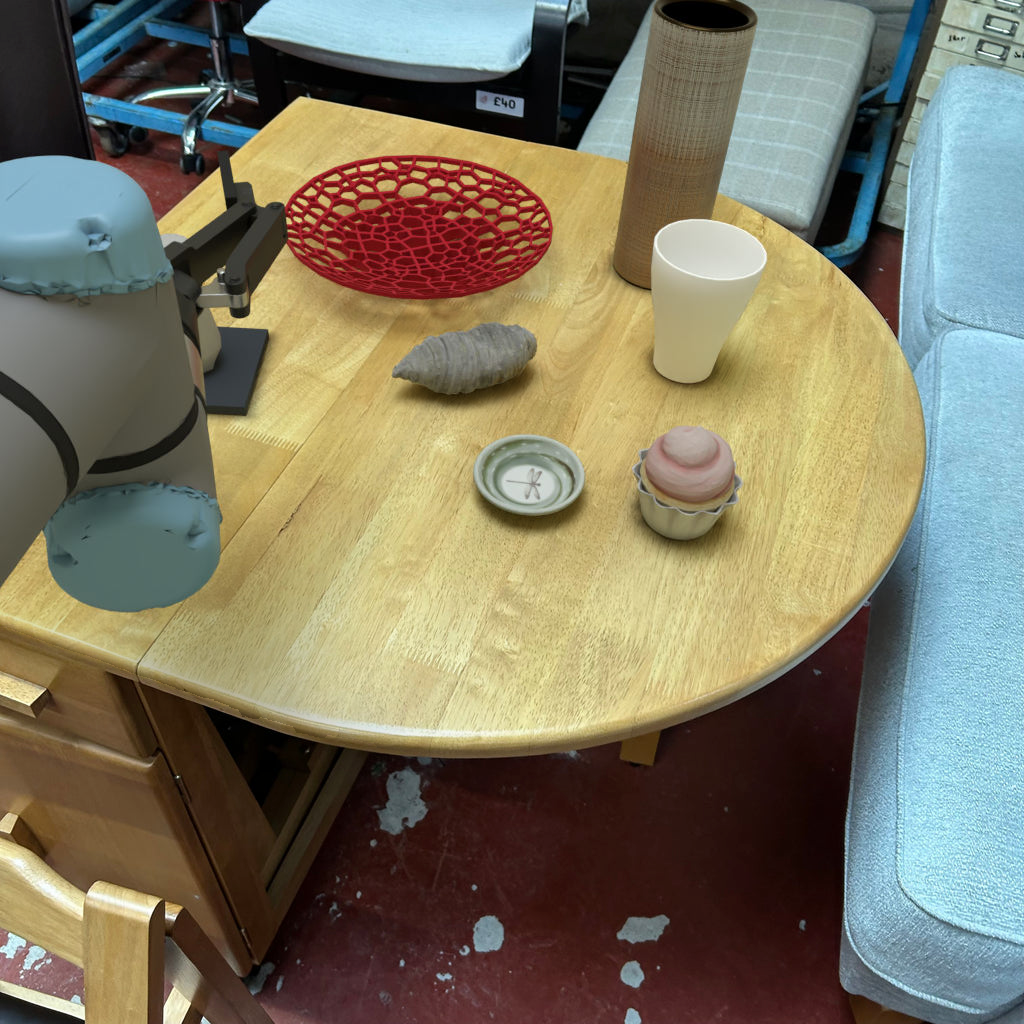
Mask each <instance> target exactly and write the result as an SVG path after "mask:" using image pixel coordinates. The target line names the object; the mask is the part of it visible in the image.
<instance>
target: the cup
mask: <svg viewBox="0 0 1024 1024" xmlns="http://www.w3.org/2000/svg"><path fill="white" fill-rule="evenodd" d="M767 263H768V253H767V250H766V249H765V247H764V244H762V242H760V241H759V240H758V238H757V237H756V236H754V235H753V234H751V233H749V232H748V231H746V230H744V229H742V228H740V227H738V226H735V225H733V224H729V223H726V222H723V221H720V220H719V221H718V220H713V219H711V220H706V219H690V220H682V221H677V222H674V223H671V224H668V225H667V226H665V227H664V228H662V229H661V230H660V231H659V232H658V233H657V235H656V236H655V238H654V246H653V255H652V265H651V289H650V290H651V305H652V312H653V313H652V314H653V325H654V326H653V327H654V328H653V329H654V346H653V347H654V348H653V360H652V363H653V367H654V369H656V371H657V372H658V373H659V374H660V375H661V376H663V377H664V378H666V379H668V380H670V381H673V382H676V383H682V384H695V383H700V382H703V381H704V380H706V379H708V377H710V376H711V374H712V372H713V369H714V367H715V364H716V361H717V359H718V358H719V354H720V352H721V350H722V348H723V347H724V345H725V343H726V342H727V340H728V338H729V336H730V335H731V333H732V331H734V328H735V327H736V325H737V323H738V322H740V319H741V318H742V317H743V314H744V312H745V311H746V309H747V307H748V305H749V303H750V301H751V299H752V297H753V296H754V293H755V292H756V290H757V288H758V286H759V284H760V281H761V278H762V276H763V275H764V274H763V273H764V271H765V269H766V266H767Z"/></svg>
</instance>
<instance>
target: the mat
mask: <svg viewBox="0 0 1024 1024" xmlns="http://www.w3.org/2000/svg"><path fill="white" fill-rule="evenodd" d="M217 327H218V330H219V332H220V336H221V349H220V351H219V353H218V356H217V358H216V360H215V363H214V367H213V369H211V370H209V371H207V372H204V373H203V377H204V387H205V396H206V408H207V414H215V415H217V414H219V415H237V416H247V413H248V411H249V408H250V407H249V406H250V404H251V400H252V397H253V393H254V391H255V390H254V389H255V386H256V383H257V379H258V377H259V373H260V370H261V367H262V363H263V359H264V355H265V352H266V348H267V347H268V344H269V343H268V342H269V340H270V332H269V329H268V328H256V327H255V328H253V327H235V326H234V327H233V326H220V325H219V326H218V325H217Z"/></svg>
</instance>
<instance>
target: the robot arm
mask: <svg viewBox="0 0 1024 1024" xmlns="http://www.w3.org/2000/svg"><path fill="white" fill-rule="evenodd" d="M216 153H217V159H218V165H219V166H218V167H219V170H220V171H219V173H220V179H221V185H222V190H223V197H224V202H225V209H226V210H224V211H223V212H222V213H220V214H219V215H218V216H216V217H215V218H214V219H213V220H211V221H210V222H209V223H207V224H206V225H204V226H203V227H202V228H200V229H199V230H197V231H196V232H195V233H194V234H192V235H190V236H189V237H187V238H188V239H187V240H185V241H184V242H183V243H180V242H177V241H173V242H171V243H170V244H169V245H167V246H166V247H163V244H162V240H161V237H160V235H161V234H160V230H159V227H158V223H157V220H156V216H155V213H154V210H153V206H152V204H151V201H150V199H149V197H148V195H147V193H146V191H145V190H144V189H143V188H142V187H141V186H140V185H139V183H138V182H137V181H136V180H135V179H134V178H133V177H131V176H130V175H128V174H127V173H126V172H124V171H122V170H120V169H119V168H117V167H114V166H113V165H111V164H107V163H104V162H101V161H98V160H91V159H84V158H78V157H74V156H68V155H38V156H37V155H36V156H28V157H22V158H14V159H11V160H6V161H2V162H0V589H2V587H3V585H4V584H5V583H6V581H7V580H8V579H9V577H10V576H11V574H12V573H13V571H15V569H16V567H17V566H18V565H19V563H20V562H21V561H22V559H23V558H24V556H25V555H26V554H27V552H28V551H29V549H30V548H31V547H32V545H33V544H34V543H35V541H36V539H37V538H38V537H39V535H40V534H41V533H42V534H43V537H44V538H45V545H46V556H47V557H46V558H47V565H48V566H47V567H48V570H49V572H50V574H51V576H52V578H53V580H54V582H55V584H57V585H58V587H59V588H60V589H61V590H62V591H63V592H64V593H66V594H67V595H68V596H70V597H71V598H73V599H74V600H76V601H78V602H80V603H82V604H84V605H87V606H89V607H92V608H96V609H99V610H102V611H107V612H114V613H115V612H116V613H140V612H142V611H145V610H153V609H165V608H168V607H171V606H174V605H177V604H179V603H182V602H183V601H185V600H187V599H189V598H190V597H192V596H193V595H195V594H197V593H198V592H199V591H200V590H202V589H203V588H204V587H205V586H206V585H207V584H208V583H209V581H210V580H211V579H212V578H213V575H214V574H215V572H216V571H217V569H218V566H219V563H220V561H221V552H222V548H221V547H222V545H221V543H222V542H221V524H222V523H223V520H224V517H223V514H222V510H221V508H220V503H219V502H218V494H217V484H216V478H215V477H216V476H215V468H214V460H213V452H212V447H211V446H212V445H211V440H210V439H211V438H210V433H209V432H210V431H209V425H208V413H207V408H206V396H205V387H204V377H203V367H202V361H201V348H200V339H199V329H198V318H199V316H200V315H201V314H202V312H203V310H204V308H210V309H217V308H219V309H220V308H221V309H222V308H228V309H229V315H230V317H232V318H233V319H239V320H240V319H245V318H247V317H249V316H250V314H251V302H252V301H251V300H252V299H251V297H252V296H253V294H254V293H255V291H256V290H257V288H258V286H259V285H260V283H261V282H262V280H263V279H264V278H265V276H266V275H267V273H268V271H269V270H270V268H271V267H272V266H273V264H274V262H276V259H277V258H278V256H279V255H280V253H281V252H282V250H283V249H284V247H285V246H286V245H287V244H286V243H287V241H288V239H289V238H288V232H289V230H287V224H288V223H287V217H286V212H285V206H286V204H285V203H283V202H280V201H271V202H269V203H267V204H266V205H265V206H261V205H258V204H257V202H256V199H255V194H254V189H253V185H252V184H251V182H249V181H236V182H235V180H234V175H233V170H232V164H231V163H232V162H231V159H230V152H229V150H217V152H216ZM214 275H216V277H214V278H213V279H212V281H211V282H210V283H209V284H206V285H204V283H205V282H206V281H208V280H209V279H210V278H212V277H213V276H214Z"/></svg>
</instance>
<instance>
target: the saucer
mask: <svg viewBox="0 0 1024 1024" xmlns="http://www.w3.org/2000/svg"><path fill="white" fill-rule="evenodd" d="M472 476H473V481H474V482H473V483H474V484H475V487H476V489H477V491H478V492H479V493H480V494H481V496H482V497H483V498H484V499H485V500H486V501H488V502H489V503H490V504H492V505H493V506H495V507H497V508H499V509H500V510H503V511H505V512H508V513H512V514H516V515H521V516H529V517H531V516H532V517H533V516H535V517H537V516H545V515H550V514H554V513H557V512H559V511H562V510H564V509H566V508H567V507H569V506H571V505H572V504H573V503H574V502H576V500H577V499H578V498H579V496H580V495H581V493H582V492H583V490H584V487H585V484H586V483H585V482H586V472H585V468H584V464H583V463H582V461H581V459H580V457H578V455H577V454H576V452H574V451H573V450H572V449H571V448H570V447H569V446H567V445H566V444H564V443H562V442H561V441H558V440H556V439H554V438H551V437H548V436H544V435H539V434H532V433H531V434H530V433H521V434H511V435H508V436H505V437H502V438H499V439H496V440H494V441H493V442H491V443H489V444H488V445H487V446H485V447H484V448H483V449H482V450H481V451H480V452H479V454H478V455H477V457H476V458H475V461H474V463H473V469H472Z"/></svg>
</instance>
